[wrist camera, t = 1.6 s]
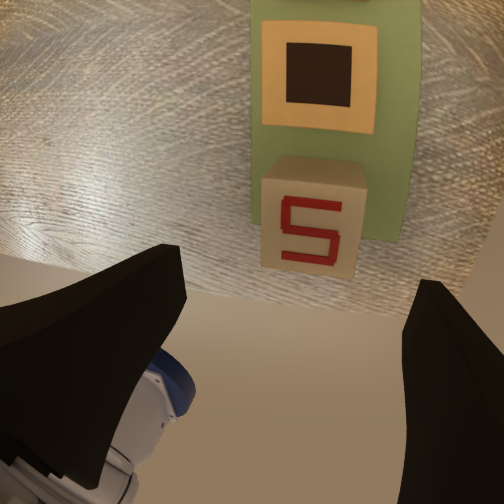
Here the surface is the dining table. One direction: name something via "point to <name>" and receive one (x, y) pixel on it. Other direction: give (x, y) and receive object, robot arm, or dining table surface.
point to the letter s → (312, 215)
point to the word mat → (339, 94)
